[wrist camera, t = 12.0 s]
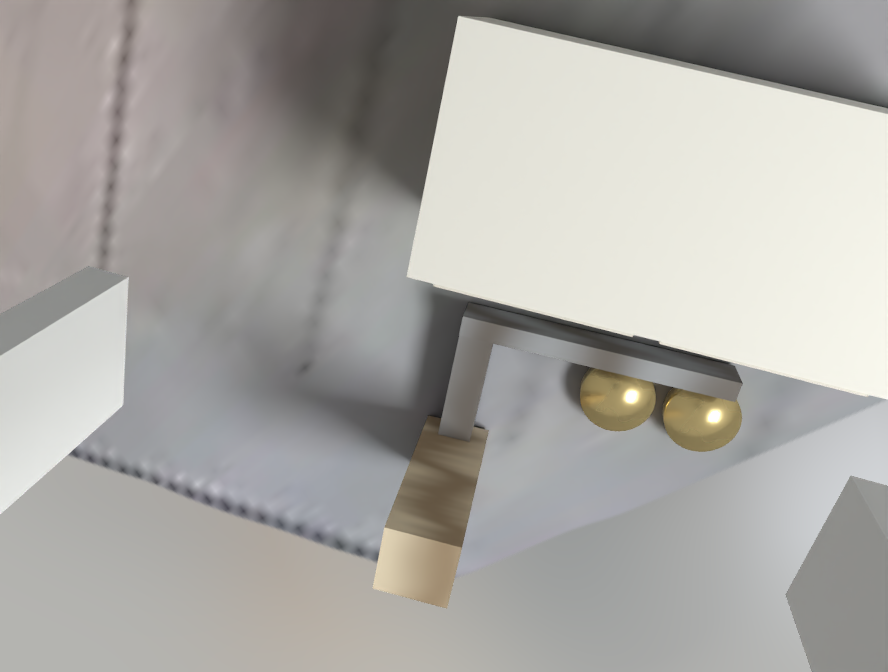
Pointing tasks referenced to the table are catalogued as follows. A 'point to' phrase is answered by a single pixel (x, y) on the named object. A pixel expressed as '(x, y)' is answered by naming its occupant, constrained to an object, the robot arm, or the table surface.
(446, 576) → the hook
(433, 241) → the cabinet
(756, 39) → the table surface
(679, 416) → the gold domed disc
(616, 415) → the golden knob
